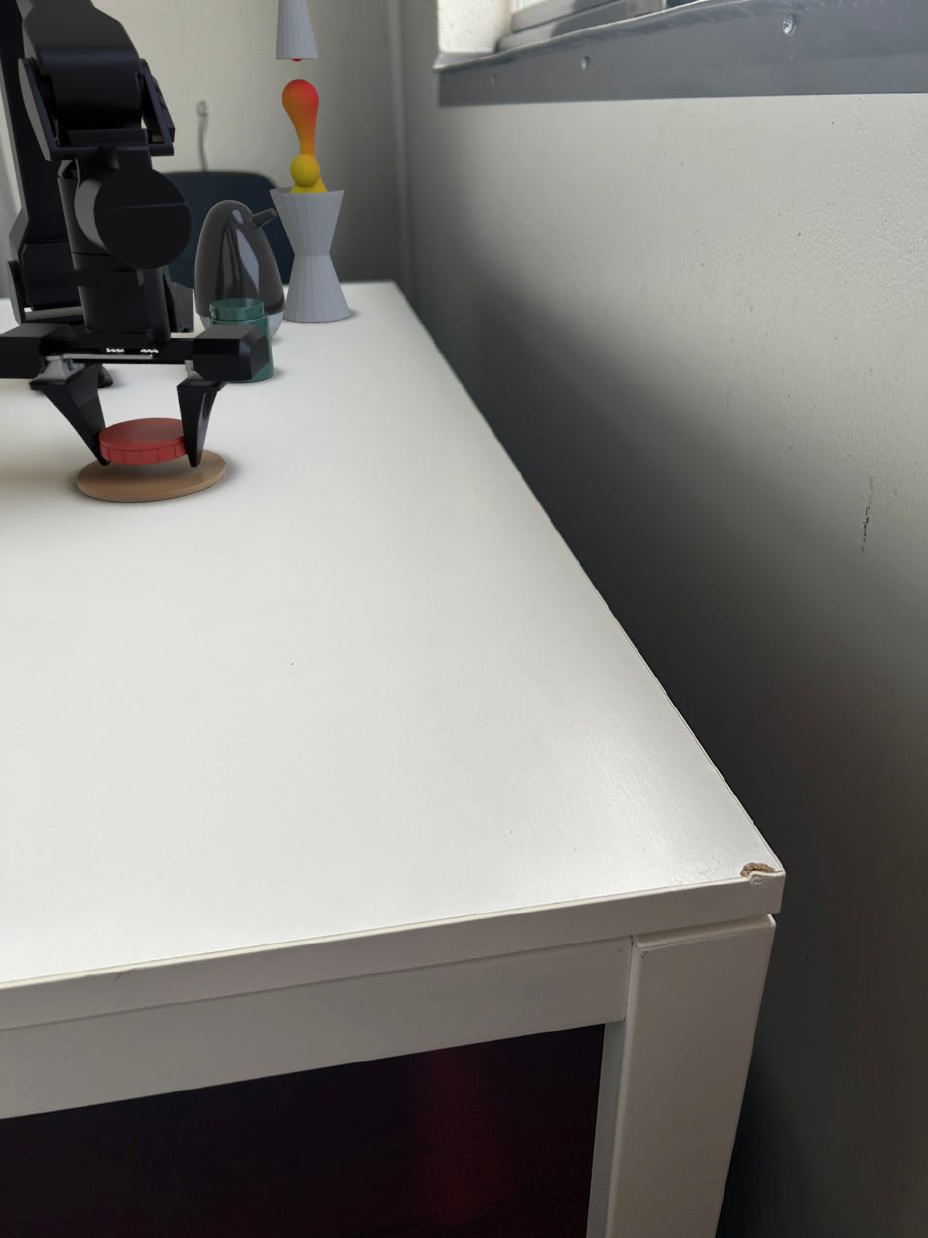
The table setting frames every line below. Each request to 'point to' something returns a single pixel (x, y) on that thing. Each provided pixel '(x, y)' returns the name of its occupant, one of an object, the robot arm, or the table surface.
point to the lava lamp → (307, 186)
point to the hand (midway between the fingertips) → (151, 464)
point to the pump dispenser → (237, 262)
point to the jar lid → (143, 441)
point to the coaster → (150, 479)
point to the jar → (244, 323)
